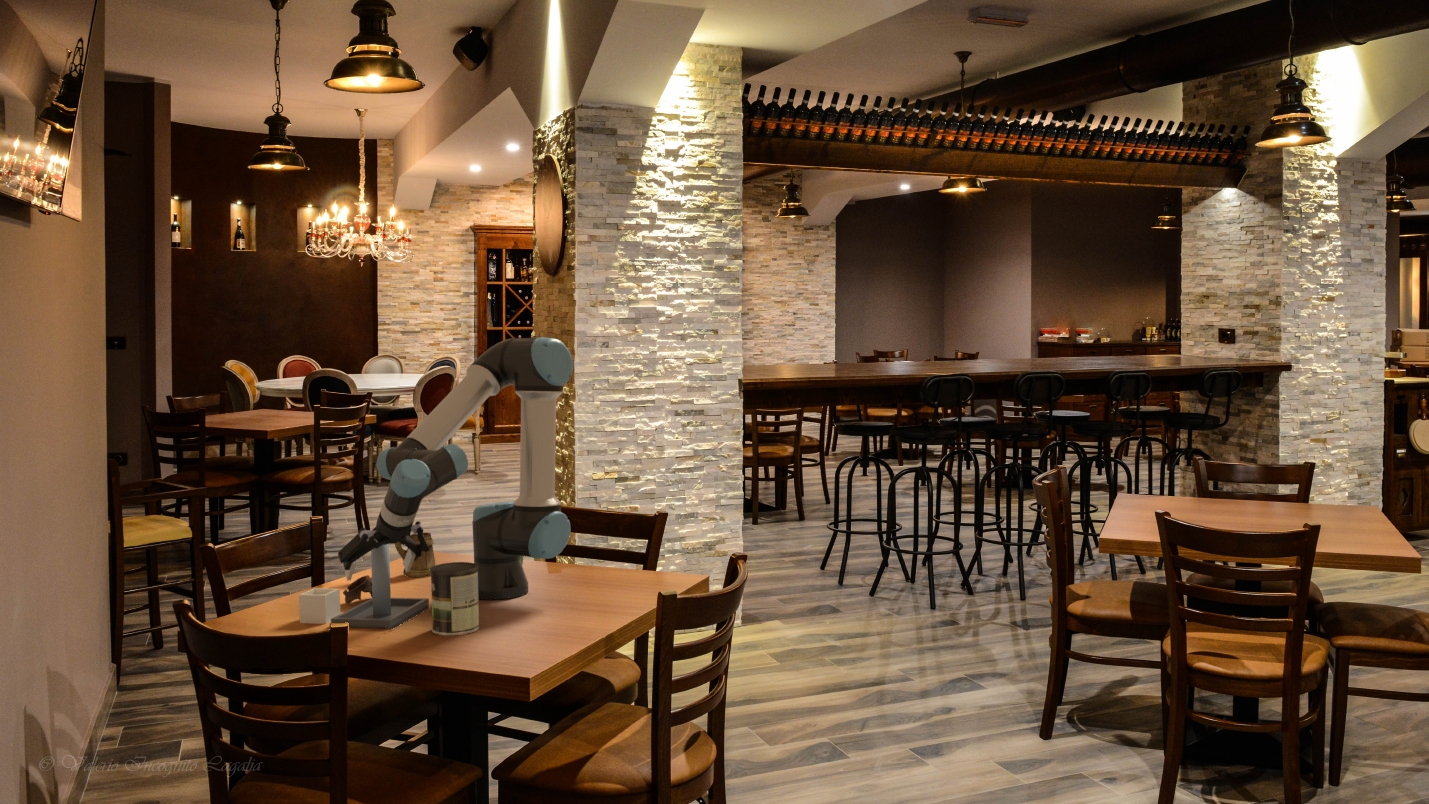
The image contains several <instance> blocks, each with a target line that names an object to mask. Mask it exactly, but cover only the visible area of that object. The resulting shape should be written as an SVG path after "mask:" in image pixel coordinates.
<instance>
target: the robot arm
mask: <svg viewBox="0 0 1429 804" xmlns="http://www.w3.org/2000/svg"><path fill="white" fill-rule="evenodd" d="M572 357H573V356H572V354H571V351H570V350H569V348H567V347H566V345H565V344H564V342H562V340H559V339H557V338H554V337H553V338H552V337H544V336H540V337H525V338H524V337H521V338H520V337H519V338H518V337H516V338H515V337H514V338H513V337H512V338H508V339H507V338H506V339H504V340H502V341H499V342H497V343H496V344H494V345H492V346H490V347H489V348H488V349H486V351H484V352H483V353H482V354H481V355H479V356H478V357H477V358H476V359H475V360H474V361H473V362H472V363H471V364H470V365H469V366H468V367H467V369H466V375H465V376H464V377H463V379H461V381H460V382H459V383H458V384H457V385H456V386H455V387H454V388H453V389H452V390H451V391H450V392H449V393H448V394H447V395H446V396H445V397H444V398H443V399H442V400H441V401H440V402H439V403H438V404H437V406H436V407H435V408H433V410H432V411H430V413H429V414H428V415H427V416H425V418H424V419H423V420H422V421H421V422H420V423H419V424H417V426H416V428H414V429H413V430H412V431H411V433H409V434H408V435H407V437H406V438H404V440H402V442H400V443H399V444H398V445H397V446H392V447H387V448H384V449H383V450H382V451H381V452H380V453H379V454H378V456H377V460H376V469H377V473H378V474H379V475H380V476H381V477H382V478H383V479H386V480H390V481H389V484H388V488H387V491H386V494H385V497H384V499H383V502H382V505H381V508H380V510H379V514H378V516H377V517H378V518H377V519H376V524H375V527H373V529H372V530H371V529H369V530H367V528H365V527H361V528H360V529H359V530H358V533H357V534H356V535H355V536H354V537H353V538H352V539H351V540H349V542H347V544H346V545H344V546H343V547H342V548H341V549H340V550H339V551H338V552H337V555H338V559H339V562H340V563H341V564H343V568H344V574H345V578H346V581H347V582H348V581H351V580H352V577H353V574H354V572H355V568H356V565H357V562H356V561H357V560H359V559H360V558H362V557H364V556H365V555H366V554H368V553H370V552H371V550H372V549H374V548H376V549H377V548H379V547H380V546H382V545H386V544H389V545H390V544H392V545H395V543H397V542H400V543H401V544H402V546H405V547H407V548H409V549H408V551H407V554H406V556H405V559H404V561H403V562H402V564H403V567H404V568H405V571H406V572H409V571H410V569H411V566H412V563H413V561H416V560H417V558H418V557H421V556H422V554H421V552H422V551H424V552H427V551H429V548H428V545H427V542H426V540H425V537H424V535H423V533H424V528H423V525H422V522H421V521H420V520H418V521H416V522H415V518H416V517H417V513H418V512H419V511H418V510H419V509H420V506H421V503H422V501H423V500H424V498H426V497H428V496H429V495H431V494H433V493H434V492H436V491H438V490H439V489H440V488H442V487H445V485H448V484H449V483H451V482H452V481H455V480H457V479H458V478H459V477H461V476H462V475H463V474H465V473H466V472H467V470H468V467H469V461H468V458H467V454H466V452H465V451H464V450H463V448H462V447H460V446H459V445H457V444H455V443H448V441H449V440H450V439H451V438H452V437H453V436H454V435H455V434H456V433H457V432H458V431H459V430H460V429H461V428H462V426H463V425H464V424H465V423H466V422H467V420H469V419H470V418H471V417H472V416H473V414H475V412H476V411H477V410H479V408H480V407H481V406H482V405H483V403H485V402H486V400H488V399H489V397H493V396H494V397H495V396H496V395H498V394H499V393H500V392H501V390H503V389H505V388H506V387H508V386H514V393H515V394H516V395H517V396H518V397H519V398H520V444H519V445H520V447H519V448H520V449H519V450H520V452H519V454H520V455H519V457H520V459H519V496H518V498H517V499H515V500H509V501H502V502H501V501H500V502H493V503H487V504H481V505H478V506H476V507H475V508H474V509H473V512H472V522H471V524H472V541H473V543H472V544H473V546H472V547H473V563H475V564H477V565H478V600H505V599H513V598H517V597H520V596H521V597H522V596H523V595H526V594H527V593H528V592H529V581H528V578H527V576H526V573H525V570H524V569H525V568H524V566H523V565H522V564H521V556H524V557H528V558H533V559H536V560H539V559H545V560H546V559H548V560H549V559H553V558H555V557H557V556H558V555H560V554H561V553H562V552H563V551H564V549H565V548H566V546H567V545H568V542H569V539H570V537H571V532H572V531H571V522H570V520H569V519H568V516H567V515H566V514H565V513H564V512H562V503H561V501H560V500H559V499H558V498H557V496H556V442H557V439H556V438H557V437H556V436H557V435H556V434H557V432H556V430H557V422H556V421H557V400H558V398H559V397H560V396H561V395H562V394H563V392H564V391H563V390H564V389H563V387H564V385H565V384H567V383H568V382H569V381H570V378H571V377H572V375H573V371H574V369H573V368H574V362H573V358H572ZM446 443H448V444H447V445H446ZM414 522H415V523H414ZM411 532H412V533H413V534H415V535H417V537H418V540H419V542H420V544H418V543H417V542H415V541H414V540H413V539H412V538H411V537H409V536H408V535H409V534H410V535H411ZM376 540H377V541H378V542H376ZM404 568H403V569H404Z"/></svg>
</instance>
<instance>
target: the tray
mask: <svg viewBox="0 0 1429 804" xmlns="http://www.w3.org/2000/svg"><path fill="white" fill-rule="evenodd" d="M427 609H428V610H429V609H430V600H429V598H425V597H424V598H423V597H420V598H419V597H417V598H416V597H391V615H389V616H385V617H374V616H373V599H372V597H371V598H369V599H368V600H367V599H366V600H365V601H364V602H361V603H359V604H358V605H356V606H354V607H352V608H350V609H348V610H346V611H345V610H344V612H342V613H341V612H340V613H341V614H339V615H337V616H335V617H333V618H332V619H331V622H330V624H331V623H345V622H348V623H349V627H350V628H349V629H370V630H371V629H372V630H373V629H374V630H375V629H376V630H378V629H379V630H391V629H393V628H395V627H397V626H399V625H400V624H402V625H404V624H405V623H404V622H406V621H407V622H409V621H410V620H409V619H411V620H412V618H413V617H414V618H416V617H417V616H416V615H418V616H420V615H421V614H422V612H423V611H424V612H426V611H428V610H427ZM424 612H423V613H424ZM420 613H421V614H420ZM415 616H416V617H415ZM414 618H413V619H414ZM408 620H409V621H408ZM407 622H406V623H407ZM403 623H404V624H403ZM399 627H400V626H399ZM397 628H398V627H397Z"/></svg>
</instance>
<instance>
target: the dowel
mask: <svg viewBox="0 0 1429 804" xmlns="http://www.w3.org/2000/svg"><path fill="white" fill-rule="evenodd" d="M376 542H378V541H377V540H376ZM370 557H371V560H370V563H371V578H372V597H371V598H372V599H373V616H374V617H385V616H389V615H391V598H392V597H391V596H392V595H391V569H390V568H391V567H390V566H391V564H390V561H391V559H390V558H391V557H390V544H386V545H382V546H380V547H379V548H377V549H376V548H374V549H372V550H371V551H370Z"/></svg>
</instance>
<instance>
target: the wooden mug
mask: <svg viewBox="0 0 1429 804" xmlns="http://www.w3.org/2000/svg"><path fill="white" fill-rule="evenodd" d="M423 535H424V537H425V540H426V542H427V545H428V548H429V551H427V552H424V551H422V552H421V554H422V556H421V557H418V558H417V560H416V561H413V563H412V566H411V569H410V571H409V572H406V571H405V568H403V572H402V574H403V575H404V576H405V575H406V576H405V577H407V576H408V578H425V576H427V577H431V572H430V568H431V567H433V566H436V565H437V563H436V558H435V553H434V546H433V545H434V540H433V538H432V534H431V532H423ZM408 536H409V537H411V538H412V539H413V540H414V541H415V542H417V543H418V544H420V542H419V540H418V537H417V535H415V533H413V534H411V533H410V534H409V535H408ZM394 546H395V549H396V551H397V553H398V554H399V556H400V557H401V559H402V561H403V562H404V559H405V556H406V554H407V551H408V549H409V548H408V547H407V549H403V545H402V544H401V543H400V542H397V543H395V544H394Z"/></svg>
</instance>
